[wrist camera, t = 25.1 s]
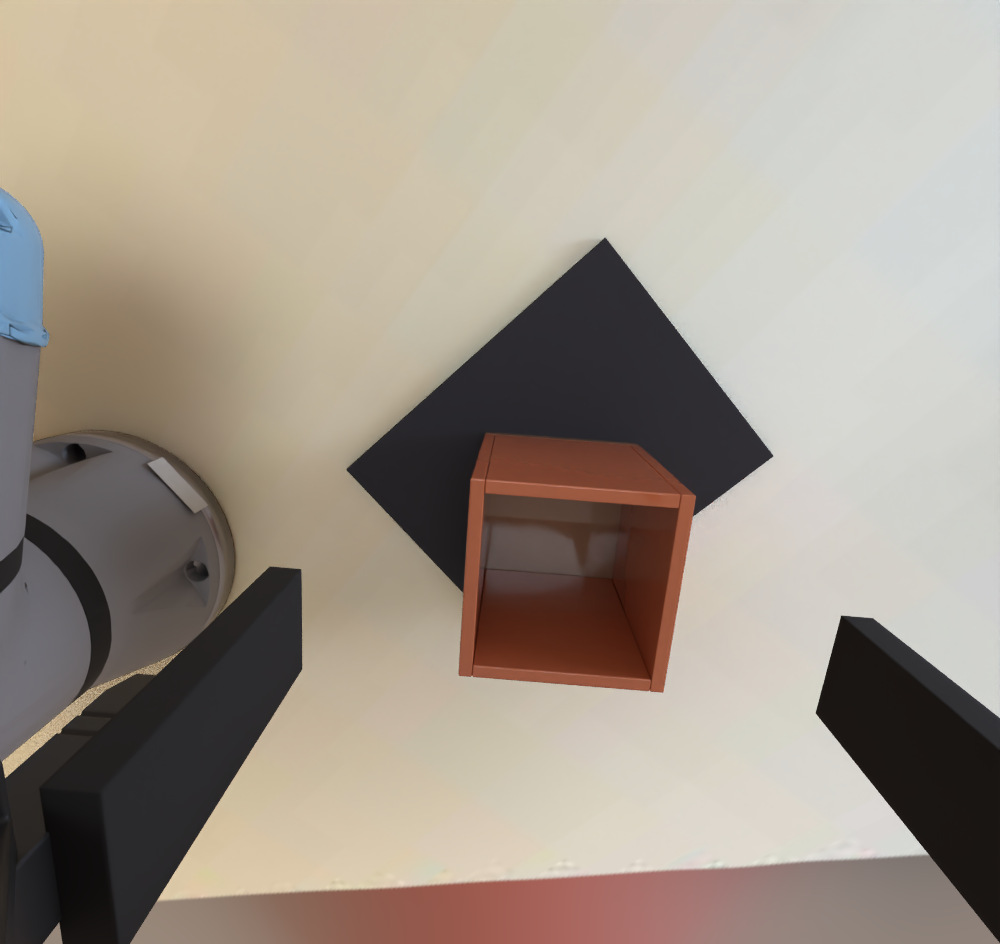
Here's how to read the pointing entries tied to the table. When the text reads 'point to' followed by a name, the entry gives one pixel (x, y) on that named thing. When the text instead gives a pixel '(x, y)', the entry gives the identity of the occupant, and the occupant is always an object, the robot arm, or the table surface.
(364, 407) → the table surface
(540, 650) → the open square box
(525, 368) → the mat
